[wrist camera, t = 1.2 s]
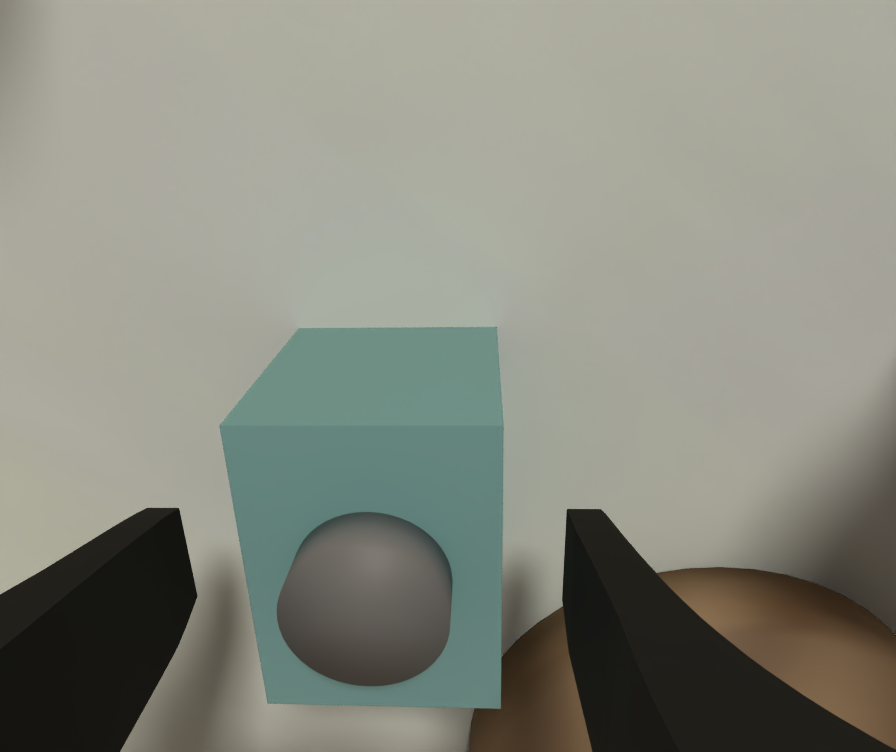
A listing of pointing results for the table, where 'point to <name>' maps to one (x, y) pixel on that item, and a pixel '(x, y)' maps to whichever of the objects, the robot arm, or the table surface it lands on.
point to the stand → (742, 623)
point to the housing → (374, 516)
